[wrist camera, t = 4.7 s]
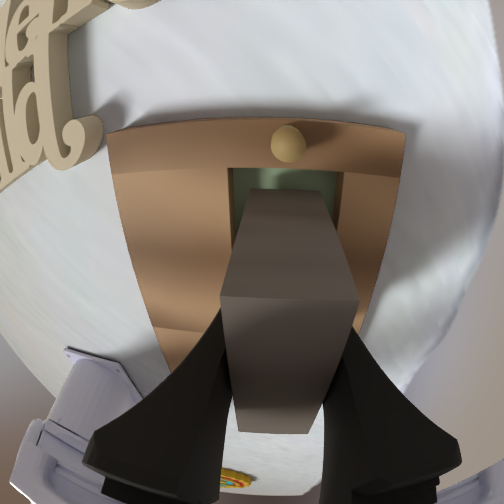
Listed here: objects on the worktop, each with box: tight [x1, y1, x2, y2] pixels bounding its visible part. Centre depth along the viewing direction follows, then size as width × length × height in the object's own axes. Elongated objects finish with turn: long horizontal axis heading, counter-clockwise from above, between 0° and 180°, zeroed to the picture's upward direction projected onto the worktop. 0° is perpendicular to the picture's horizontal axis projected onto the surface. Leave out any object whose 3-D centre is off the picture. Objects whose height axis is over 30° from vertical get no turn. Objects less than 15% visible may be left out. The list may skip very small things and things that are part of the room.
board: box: [106, 117, 406, 373], centre depth 15 cm, size 20×13×3 cm, turn 1°
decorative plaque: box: [220, 468, 251, 488], centre depth 51 cm, size 30×3×30 cm
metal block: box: [220, 188, 360, 434], centre depth 11 cm, size 8×3×7 cm, turn 1°
